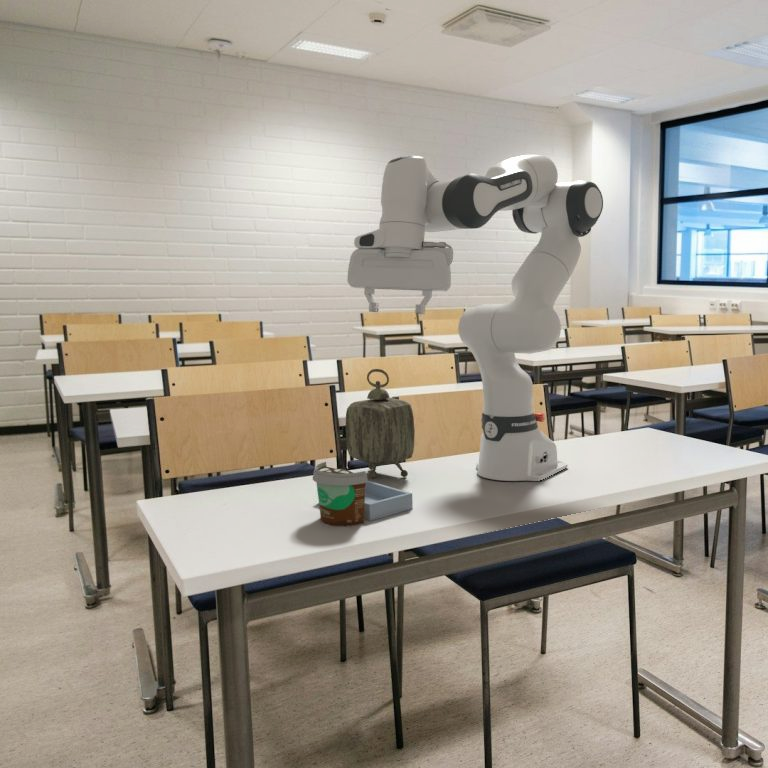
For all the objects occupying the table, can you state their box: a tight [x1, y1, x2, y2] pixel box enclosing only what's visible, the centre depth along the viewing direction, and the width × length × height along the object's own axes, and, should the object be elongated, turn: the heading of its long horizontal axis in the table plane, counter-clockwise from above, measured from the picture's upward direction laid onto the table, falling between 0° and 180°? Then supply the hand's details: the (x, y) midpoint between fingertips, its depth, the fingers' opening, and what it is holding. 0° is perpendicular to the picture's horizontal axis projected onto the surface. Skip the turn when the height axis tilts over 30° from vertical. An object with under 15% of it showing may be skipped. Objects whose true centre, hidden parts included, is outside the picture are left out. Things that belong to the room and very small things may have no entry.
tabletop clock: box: [345, 368, 415, 479], centre depth 160 cm, size 14×9×25 cm, turn 45°
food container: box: [312, 461, 369, 527], centre depth 128 cm, size 12×6×10 cm, turn 45°
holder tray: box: [364, 480, 414, 522], centre depth 138 cm, size 11×17×3 cm, turn 40°
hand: (396, 313), depth 135 cm, fingers open, 8 cm apart
